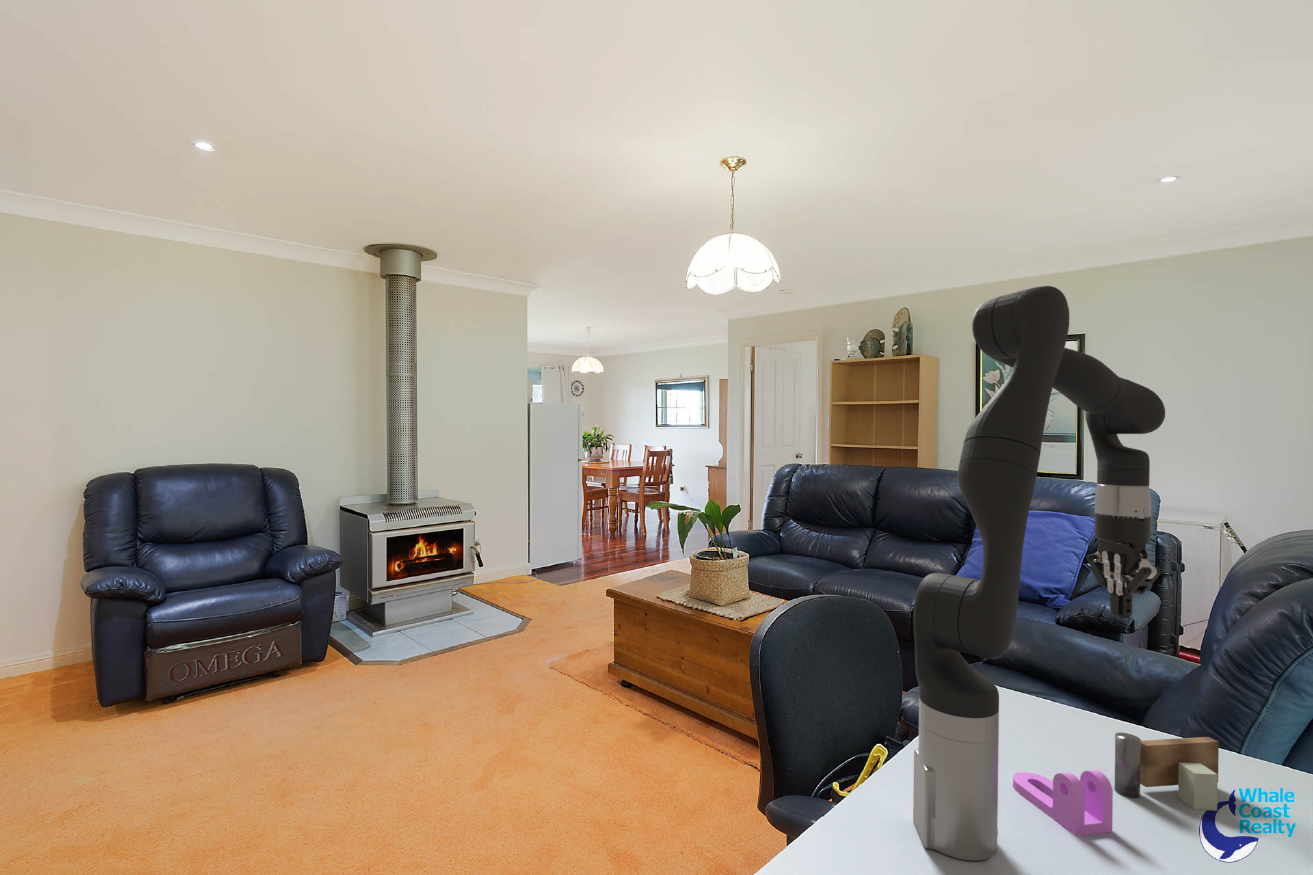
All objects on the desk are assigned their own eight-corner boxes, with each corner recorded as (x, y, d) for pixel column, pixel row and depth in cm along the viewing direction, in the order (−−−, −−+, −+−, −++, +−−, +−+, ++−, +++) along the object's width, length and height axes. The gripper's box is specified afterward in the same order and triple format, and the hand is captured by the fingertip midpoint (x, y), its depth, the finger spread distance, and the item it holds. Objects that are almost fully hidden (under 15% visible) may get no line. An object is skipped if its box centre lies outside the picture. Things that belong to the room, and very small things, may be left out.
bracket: (1112, 832, 84) (1112, 779, 84) (1074, 836, 83) (1075, 782, 83) (1037, 779, 97) (1037, 733, 97) (1004, 782, 96) (1004, 736, 96)
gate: (1145, 787, 93) (1146, 745, 93) (1136, 781, 94) (1137, 740, 94) (1218, 782, 95) (1218, 741, 95) (1208, 776, 96) (1208, 736, 96)
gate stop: (1194, 809, 89) (1194, 773, 89) (1178, 797, 92) (1178, 762, 92) (1217, 810, 89) (1217, 774, 89) (1200, 798, 92) (1200, 763, 92)
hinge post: (1121, 796, 92) (1122, 740, 92) (1110, 785, 95) (1110, 731, 95) (1144, 798, 92) (1145, 742, 92) (1132, 787, 95) (1133, 733, 95)
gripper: (1071, 507, 112) (1070, 606, 112) (1135, 517, 99) (1133, 629, 99) (1110, 508, 113) (1109, 606, 113) (1179, 517, 100) (1178, 628, 100)
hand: (1120, 616), depth 106 cm, fingers closed
